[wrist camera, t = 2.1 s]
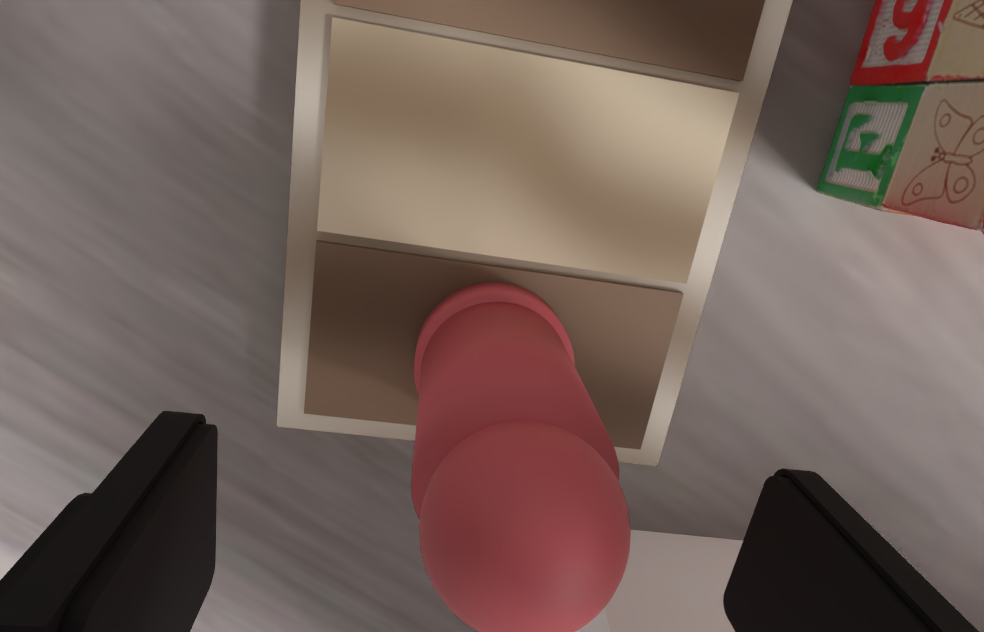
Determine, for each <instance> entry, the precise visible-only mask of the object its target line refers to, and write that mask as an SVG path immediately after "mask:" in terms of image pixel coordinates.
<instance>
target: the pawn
mask: <svg viewBox="0 0 984 632" xmlns="http://www.w3.org/2000/svg"><path fill="white" fill-rule="evenodd" d="M414 380H415V385H416V389H417V392H418V395H419V400H418V411H417V423H416V434H415V445H414V456H413V468H412V480H411V490H412V499H413V503H414V507H415V510H416V513H417V515H418V517H419V520H420V524H419V535H420V547H421V552H422V557H423V561H424V565H425V568H426V571H427V573H428V576H429V578H430V580H431V582H432V584H433V587H434V589H435V590H436V592H437V593H438V595H439V596H440V598H441V599H442V601H443V602H444V603H445V604H446V606H447V607H448V608H449V609H450V610H451V611H452V613H454V614H455V615H456V616H457V617H458V618H459V619H461V620H462V621H463V622H464V623H465V624H467V625H468V626H470V627H471V628H473V629H474V630H476V631H478V632H576V631H578V630H579V629H581V628H582V627H584V626H585V625H587V624H588V623H589V622H590V621H592V620H593V619H594V618H595V617H596V616H597V615H598V614H599V613H600V612H601V611H602V610H603V609H604V608H605V606H606V605H607V604H608V603H609V601H610V600H611V598H612V597H613V595H614V593H615V591H616V590H617V588H618V586H619V584H620V582H621V580H622V577H623V575H624V572H625V569H626V565H627V562H628V557H629V552H630V537H631V527H630V518H629V511H628V507H627V503H626V499H625V496H624V494H623V491H622V488H621V486H620V484H619V466H618V459H617V455H616V451H615V448H614V446H613V443H612V441H611V439H610V437H609V435H608V433H607V431H606V429H605V427H604V425H603V423H602V421H601V419H600V417H599V415H598V413H597V411H596V409H595V407H594V405H593V402H592V400H591V398H590V396H589V394H588V392H587V390H586V388H585V386H584V384H583V382H582V380H581V378H580V376H579V374H578V372H577V370H576V368H575V360H574V353H573V349H572V345H571V342H570V340H569V338H568V335H567V333H566V331H565V329H564V328H563V326H562V324H561V322H560V320H559V318H558V317H557V315H556V314H555V312H554V311H553V309H552V308H551V307H550V306H549V305H548V304H547V303H546V302H545V301H544V300H543V299H542V298H541V297H539V296H538V295H536V294H535V293H533V292H532V291H530V290H528V289H526V288H523V287H520V286H518V285H515V284H510V283H505V282H482V283H477V284H472V285H469V286H466V287H463V288H461V289H459V290H457V291H455V292H453V293H451V294H450V295H448V296H447V297H445V298H444V299H443V300H442V301H440V302H439V303H438V304H437V305H436V306H435V307H434V308H433V309H432V311H431V312H430V313H429V315H428V316H427V318H426V319H425V321H424V323H423V325H422V327H421V330H420V332H419V335H418V340H417V344H416V353H415V361H414Z"/></svg>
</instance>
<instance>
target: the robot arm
mask: <svg viewBox="0 0 984 632" xmlns="http://www.w3.org/2000/svg"><path fill="white" fill-rule="evenodd" d="M217 436H218V434H217V427H216V426H215V425H210V424H206V419H205V416H204V415H203V414H193V413H183V412H172V411H163V412H162V413H161V414H159V416H158V417H157V418H156V419H155V420H154V421H153V423H152V424H151V425H150V426H149V427H148V428H147V430H146V431H145V432H144V433H143V434H142V435H141V437H140V438H139V439H138V440H137V441H136V443H135V444H134V445H133V446H132V447H131V448H130V450H129V451H128V452H127V453H126V454H125V455H124V457H123V458H122V459H121V460H120V461H119V463H118V464H117V465H116V466H115V467H114V468H113V470H112V471H111V472H110V473H109V474H108V475H107V477H106V478H105V479H104V480H103V481H102V482H101V484H100V485H99V486H98V487H97V488H96V490H95V491H94V492H93V493H83V494H80V495H78V496H76V497H75V498H74V499H73V500H72V501H71V502H70V503H69V504H68V505H67V506H66V507H65V508H64V509H63V511H62V512H61V513H60V514H59V515H58V516H57V517H56V518H55V520H54V521H53V522H52V523H51V524H50V525H49V526H48V527H47V529H46V530H45V531H44V532H43V533H42V534H41V535H40V536H39V538H38V539H37V540H36V541H35V542H34V543H33V544H32V545H31V547H30V548H29V549H28V550H27V551H26V552H25V553H24V554H23V556H22V557H21V558H20V559H19V560H18V561H17V562H16V563H15V565H14V566H13V567H12V568H11V569H10V570H9V571H8V572H7V574H6V575H5V576H4V577H3V578H2V579H1V580H0V632H190V630H191V628H192V626H193V623H194V621H195V619H196V617H197V615H198V612H199V610H200V608H201V606H202V603H203V601H204V599H205V597H206V595H207V592H208V590H209V588H210V585H211V582H212V579H213V574H214V569H215V553H216V494H217ZM723 605H724V610H725V614H726V616H727V618H728V620H729V622H730V623H731V625H732V627H733V629H734V630H735V632H979V631H978V630H977V629H976V628H975V627H974V626H972V625H971V624H970V623H969V622H968V621H967V620H966V619H965V618H964V617H963V616H962V615H961V614H960V613H959V612H958V611H957V610H956V609H955V608H954V607H953V606H952V605H951V604H950V603H949V602H948V601H947V600H946V599H945V598H944V597H943V596H942V595H941V594H940V593H939V592H938V591H937V590H936V589H935V588H934V587H933V586H932V585H931V584H930V583H929V582H928V581H927V580H926V579H925V578H924V577H923V576H922V575H920V574H919V573H918V572H917V571H916V570H915V569H914V568H913V567H912V566H911V565H910V564H909V563H908V562H907V561H906V560H905V559H904V558H903V557H902V556H901V555H900V554H899V553H898V552H897V551H896V550H895V549H894V548H893V547H892V546H891V545H890V544H889V543H888V542H887V541H886V540H885V539H884V538H883V537H882V536H881V535H880V534H879V533H878V532H877V531H876V530H875V529H874V528H873V527H872V526H871V525H870V524H868V523H867V522H866V521H865V520H864V519H863V518H862V517H861V516H860V515H859V514H858V513H857V512H856V511H855V510H854V509H853V508H852V507H851V506H850V505H849V504H848V503H847V502H846V501H845V500H844V499H843V498H842V497H841V496H840V495H839V494H838V493H837V492H836V491H835V490H834V489H833V488H832V487H831V486H830V485H829V484H828V483H827V482H826V481H825V480H824V479H823V478H822V477H821V476H820V475H818V474H817V473H815V472H811V471H802V470H791V469H780V470H778V471H777V472H776V473H775V474H774V476H771V477H769V478H768V479H767V480H766V481H765V483H764V486H763V489H762V491H761V494H760V497H759V499H758V502H757V505H756V508H755V510H754V513H753V516H752V518H751V521H750V524H749V526H748V529H747V532H746V535H745V537H744V540H743V543H742V545H741V548H740V551H739V554H738V556H737V559H736V562H735V564H734V567H733V570H732V573H731V575H730V578H729V581H728V583H727V586H726V589H725V592H724V596H723Z"/></svg>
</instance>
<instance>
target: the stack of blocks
mask: <svg viewBox="0 0 984 632" xmlns="http://www.w3.org/2000/svg"><path fill="white" fill-rule="evenodd" d="M817 192H819V193H821V194H825V195H828V196H831V197H835V198H838V199H841V200H845V201H848V202H852V203H855V204H859V205H862V206H866V207H869V208H873V209H876V210H880V211H885V212H892V213H899V214H906V215H912V216H919V217H923V218H927V219H930V220H934V221H938V222H942V223H946V224H952V225H956V226H960V227H964V228H968V229H973V230H980V231H982V233H983V234H984V0H876V2H875V5H874V8H873V11H872V14H871V17H870V21H869V24H868V27H867V30H866V33H865V36H864V39H863V43H862V46H861V49H860V52H859V55H858V59H857V62H856V65H855V68H854V71H853V74H852V77H851V82H850V89H849V92H848V96H847V99H846V102H845V105H844V108H843V111H842V114H841V117H840V120H839V123H838V126H837V129H836V132H835V136H834V139H833V142H832V145H831V148H830V151H829V154H828V157H827V160H826V163H825V166H824V170H823V173H822V176H821V179H820V181H819V184H818V187H817Z"/></svg>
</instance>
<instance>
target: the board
mask: <svg viewBox="0 0 984 632" xmlns="http://www.w3.org/2000/svg"><path fill="white" fill-rule="evenodd" d="M792 1H793V0H301V2H300V20H299V37H298V55H297V73H296V91H295V108H294V126H293V144H292V162H291V180H290V197H289V215H288V233H287V251H286V268H285V286H284V304H283V322H282V339H281V357H280V375H279V393H278V410H277V427H285V428H295V429H304V430H314V431H324V432H333V433H343V434H352V435H362V436H372V437H381V438H391V439H400V440H410V441H415V434H416V423H417V411H418V400H419V395H418V392H417V389H416V385H415V380H414V361H415V353H416V344H417V340H418V335H419V332H420V330H421V327H422V325H423V323H424V321H425V319H426V318H427V316H428V315H429V313H430V312H431V311H432V309H433V308H434V307H435V306H436V305H437V304H438V303H439V302H440V301H442V300H443V299H444V298H445V297H447V296H448V295H450V294H451V293H453V292H455V291H457V290H459V289H461V288H463V287H466V286H469V285H472V284H477V283H482V282H505V283H510V284H515V285H518V286H520V287H523V288H526V289H528V290H530V291H532V292H533V293H535V294H536V295H538V296H539V297H541V298H542V299H543V300H544V301H545V302H546V303H547V304H548V305H549V306H550V307H551V308H552V309H553V311H554V312H555V314H556V315H557V317H558V318H559V320H560V322H561V324H562V326H563V328H564V329H565V331H566V333H567V335H568V338H569V340H570V342H571V345H572V349H573V353H574V360H575V368H576V370H577V372H578V374H579V376H580V378H581V380H582V382H583V384H584V386H585V388H586V390H587V392H588V394H589V396H590V398H591V400H592V402H593V405H594V407H595V409H596V411H597V413H598V415H599V417H600V419H601V421H602V423H603V425H604V427H605V429H606V431H607V433H608V435H609V437H610V439H611V441H612V443H613V446H614V448H615V451H616V455H617V459H618V462H621V463H631V464H641V465H650V466H658V463H659V459H660V456H661V452H662V449H663V445H664V442H665V439H666V435H667V432H668V428H669V425H670V421H671V418H672V414H673V411H674V408H675V404H676V401H677V397H678V394H679V390H680V387H681V383H682V380H683V377H684V373H685V370H686V366H687V363H688V359H689V356H690V352H691V349H692V346H693V342H694V339H695V335H696V332H697V328H698V325H699V321H700V318H701V315H702V311H703V308H704V304H705V301H706V297H707V294H708V291H709V287H710V284H711V280H712V277H713V273H714V270H715V266H716V263H717V260H718V256H719V253H720V249H721V246H722V242H723V239H724V235H725V232H726V229H727V225H728V222H729V218H730V215H731V211H732V208H733V204H734V201H735V198H736V194H737V191H738V187H739V184H740V180H741V177H742V173H743V170H744V167H745V163H746V160H747V156H748V153H749V149H750V146H751V143H752V139H753V136H754V132H755V129H756V125H757V122H758V118H759V115H760V112H761V108H762V105H763V101H764V98H765V94H766V91H767V87H768V84H769V81H770V77H771V74H772V70H773V67H774V63H775V60H776V56H777V53H778V50H779V46H780V43H781V39H782V36H783V32H784V29H785V26H786V22H787V19H788V15H789V12H790V8H791V5H792Z"/></svg>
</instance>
